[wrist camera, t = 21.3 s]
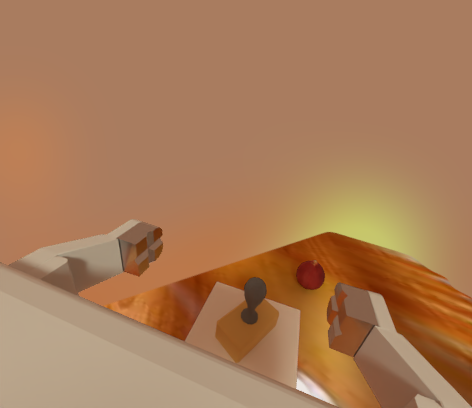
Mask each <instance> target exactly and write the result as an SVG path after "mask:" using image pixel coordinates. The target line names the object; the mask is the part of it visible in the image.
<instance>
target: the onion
mask: <svg viewBox="0 0 472 408" xmlns="http://www.w3.org/2000/svg"><path fill="white" fill-rule="evenodd" d="M296 276H297V279H298V282H299V283H300V284H301V285H302V286H303V287H304V288H305V289H311V290H314V289H318V288H320V286H321V285H322V284H323V282H324V278H325V273H324V271H323V268H322V267H321V265H320V264H319V263H318V262H317V261H316V260H313V261H306V262H303V263H302V264H301V265H300V266H299V267H298V269H297V274H296Z"/></svg>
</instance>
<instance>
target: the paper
mask: <svg viewBox="0 0 472 408" xmlns="http://www.w3.org/2000/svg"><path fill="white" fill-rule="evenodd" d="M264 299H265V300H266V301H267V302H269V303H270V304H271V305H272V306H273V307H274V308H275V309H276V310H278V311H279V317H278V320H277V323H276V326H275V327H274V328H273V329H272V330H271V331H270V332H269V333H268V334H267V335H266V336H265V337H264V338H263V339H262V340H261V341H260V342H259V343H258V344H257V345H256V346H255V347H254V348H253V349H252V350H251V351H250V352H249V353H248V354H247V355H246V356H245V357H244V358H243V359H242V360H241V361H240V362H238V363H236V364H238V365H241V366H243V367H245V368H248V369H250V370H252V371H255V372H257V373H259V374H262V375H264V376H266V377H269V378H271V379H273V380H276V381H278V382H280V383H283V384H285V385H288V386H290V387H292V388H295V389H296V382H297V364H298V345H299V326H300V310H298V309H295V308H292V307H289V306H287V305H284V304H281V303H278V302H275V301H272V300H269V299H266V298H264ZM243 301H245V296H244V291H243V290H240V289H238V288H235V287H232V286H229V285H226V284H223V283H220V282H216V284H215V286H214V288H213V289H212V291H211V293H210V295H209V297H208V299H207V301H206V302H205V304H204V306H203V308H202V310H201V312H200V314H199V315H198V317H197V319H196V321H195V323H194V325H193V327H192V328H191V330H190V332H189V334H188V336H187V338H186V340H185V342H187V343H189V344H192V345H194V346H196V347H199V348H201V349H203V350H206V351H208V352H210V353H213V354H215V355H217V356H220V357H222V358H224V359H227V360H229V361H231V362H234V363H235V361H234V360H233V359H232V358H231V356H230V355H229V354H228V353H227V351H226V350H225V349H224V348H223V346H222V345H221V344H220V342H219V341H218V340H217V339H216V337H215V333H216V325H217V321H218V320H219V319H221V318H222V317H223V316H225V315H226V314H227V313H229V312H230V311H231V310H233V309H234V308H235V307H237V306H238V305H239V304H241V303H242V302H243Z"/></svg>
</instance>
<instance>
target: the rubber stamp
mask: <svg viewBox="0 0 472 408" xmlns="http://www.w3.org/2000/svg"><path fill="white" fill-rule="evenodd" d="M244 296H245V301H243V302H242V303H241V304H239V305H238V306H237V307H235V308H234V309H233V310H231V311H230V312H229V313H227V314H226V315H225V316H223V317H222V318H221V319H219V320H218V321H217V325H216V333H215V337H216V339H217V340H218V341H219V342H220V344H221V345H222V346H223V348H224V349H225V350H226V351H227V353H228V354H229V355H230V356H231V358H232V359H233V360H234V361H235V363H238V362H240V361H241V360H242V359H243V358H244V357H245V356H246V355H247V354H248V353H249V352H250V351H251V350H252V349H253V348H254V347H255V346H256V345H257V344H258V343H259V342H260V341H261V340H262V339H263V338H264V337H265V336H266V335H267V334H268V333H269V332H270V331H271V330H272V329H273V328H274V327H275V326H276V323H277V320H278V317H279V311H278V310H276V309H275V308H274V307H273V306H272V305H271V304H270V303H269V302H267V301H266V300H265V299H264V298H265V296H266V284H265V283H264V281H263V280H262V279H260V278H256V277H254V278H251V279H249V280H248V282H247V283H246V284H245V287H244Z"/></svg>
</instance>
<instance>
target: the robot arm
mask: <svg viewBox="0 0 472 408" xmlns="http://www.w3.org/2000/svg"><path fill="white" fill-rule="evenodd" d="M161 236H162V229H161V228H159V227H157V226H154V225H151V224H148V223H145V222H141V221H138V220H135V219H132V220H130V221H128V222H126V223H125V224H123V225H122V226H120V227H119V228H117V229H115V230H113V231H112V232H110V233H109V234H107V235H104V234H103V235H98V236H93V237H89V238H84V239H80V240H75V241H71V242H66V243H62V244H57V245H52V246H48V247H44V248H40V249H38V250H37V251H35V252H33V253H31V254H29V255H27V256H25V257H23V258H21V259H19V260H17V261H15V262H14V263H12V264H10V265H5V264H3V263H1V262H0V408H339V407H336V406H334V405H332V404H330V403H327V402H325V401H323V400H320V399H318V398H316V397H313V396H311V395H309V394H306V393H304V392H302V391H299V390H297V389H295V388H292V387H290V386H288V385H285V384H283V383H280V382H278V381H276V380H273V379H271V378H269V377H266V376H264V375H262V374H259V373H257V372H255V371H252V370H250V369H248V368H245V367H243V366H241V365H238V364H236V363H234V362H231V361H229V360H227V359H224V358H222V357H220V356H217V355H215V354H213V353H210V352H208V351H206V350H203V349H201V348H199V347H196V346H194V345H192V344H189V343H187V342H185V341H182V340H180V339H178V338H175V337H173V336H171V335H168V334H166V333H164V332H161V331H159V330H157V329H154V328H152V327H150V326H147V325H145V324H143V323H141V322H138V321H136V320H134V319H131V318H129V317H127V316H124V315H122V314H120V313H117V312H115V311H113V310H110V309H108V308H106V307H103V306H101V305H98V304H96V303H94V302H92V301H89V300H87V299H85V298H82V297H80V296H79V295H78V292H80V291H82V290H85V289H87V288H89V287H91V286H94V285H96V284H98V283H100V282H103V281H105V280H107V279H109V278H111V277H114V276H116V275H118V274H120V273H122V272H123V271H124V272H127V273H130V274H133V275H136V276H140V275H141V274H142V273H143V272H144V271H145V270H146V269H147V268H148V267H149V263H150V262H153V261H155V260H156V259H157V258H158V257H159V256H160V254H161V252H162V249H163V242H162V241H161V239H160V237H161ZM327 321H328V323H329V324H330V325H331V326H330V328H329V330H328V338H329V348H331V349H334V350H336V351H339V352H341V353H344V354H346V355H349V356H351V357H354V358H353V359H354V361H355V362H356V364H357V366H358V367H359V369H360V371H361V373H362V374H363V376H364V378H365V379H366V381H367V383H368V385H369V386H370V388H371V390H372V391H373V393H374V395H375V397H376V398H377V400H378V402H379V403H380V405H381V407H382V408H472V407H471V406H470V405H469V404H468V403H467V402H466V401H465V400H464V399H463V397H462V396H461V395H460V394H459V393H458V392H457V391H456V390H455V389H454V388H453V387H452V386H451V385H450V384H449V383H448V382H447V381H446V380H445V379H444V378H443V377H442V376H441V375H440V374H439V373H438V372H437V371H436V370H435V369H434V368H433V366H432V365H431V364H430V363H429V362H428V361H427V360H426V359H425V358H424V357H423V356H422V355H421V354H420V353H419V352H418V351H417V350H416V349H415V348H414V347H413V346H412V345H411V344H410V343H409V342H408V341H407V340H406V339H405V338H404V336H403V335H401V334H398V333H397V332H396V329H395V327H394V324H393V321H392V319H391V316H390V314H389V311H388V309H387V306H386V303H385V301H384V298H383V296H382V295H381V294H378V293H374V292H371V291H367V290H363V289H359V288H356V287H353V286H349V285H346V284H343V283H338V284H337V285H336V287H335V295H334V296H332V297H331V298H330V301H329V303H328V308H327Z"/></svg>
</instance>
